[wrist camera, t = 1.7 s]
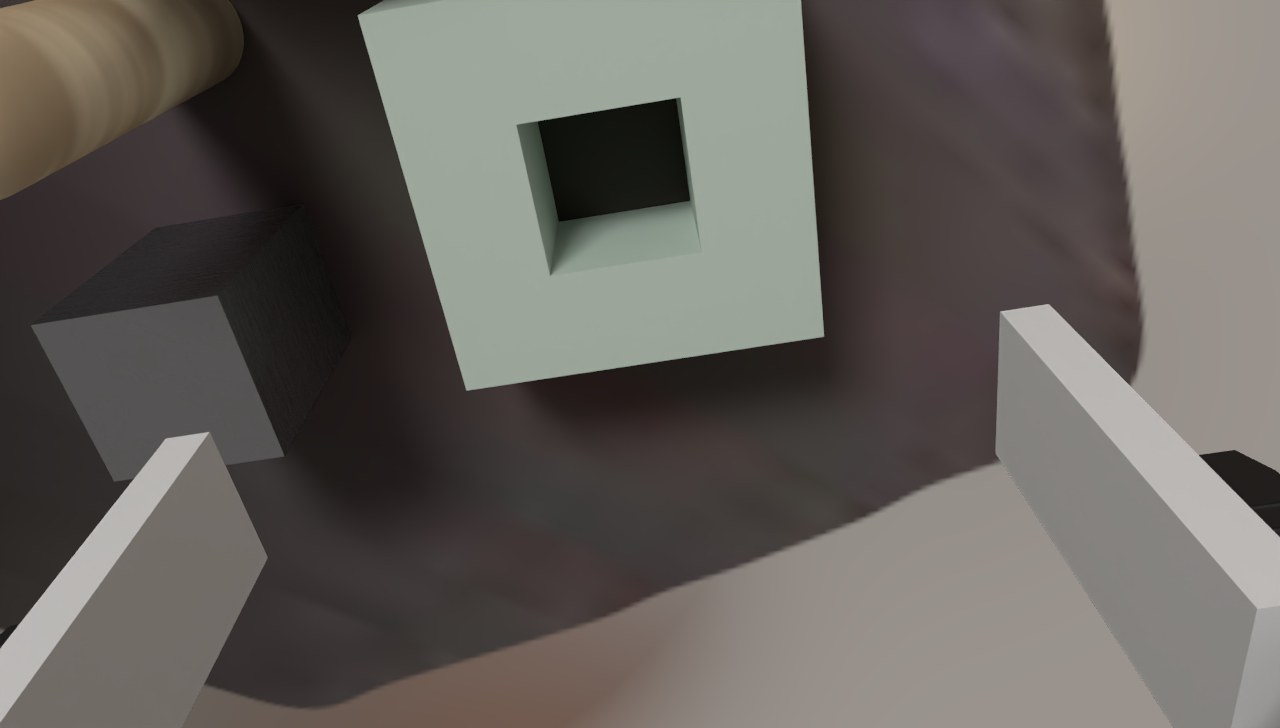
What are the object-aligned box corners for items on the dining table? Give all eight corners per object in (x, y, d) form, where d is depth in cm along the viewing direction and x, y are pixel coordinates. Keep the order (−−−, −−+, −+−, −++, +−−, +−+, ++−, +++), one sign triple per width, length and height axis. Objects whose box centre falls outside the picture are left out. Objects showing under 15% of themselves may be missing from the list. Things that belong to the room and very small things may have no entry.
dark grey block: (213, 360, 35) (114, 481, 28) (156, 227, 33) (30, 325, 26) (350, 339, 35) (284, 456, 28) (303, 203, 33) (217, 295, 26)
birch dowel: (156, 94, 31) (-86, 214, 20) (110, -20, 29) (-182, 45, 18) (260, 76, 30) (70, 188, 20) (219, -40, 29) (-12, 15, 18)
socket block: (485, 324, 35) (466, 390, 31) (396, -7, 29) (357, 15, 25) (797, 276, 34) (824, 336, 30) (768, -73, 29) (796, -62, 24)
